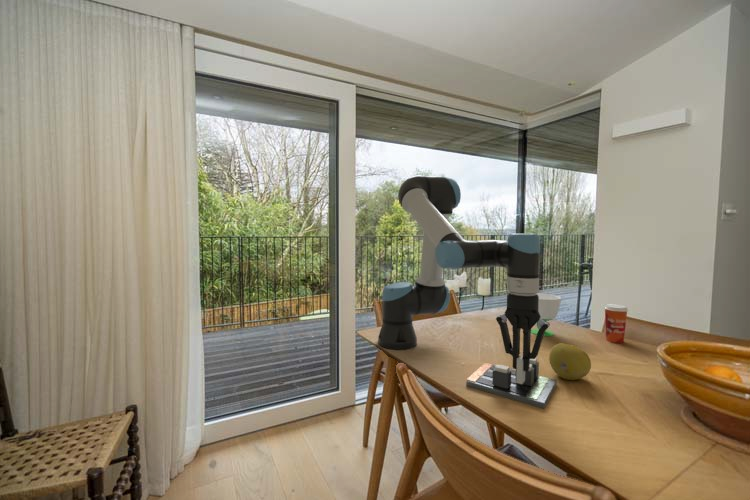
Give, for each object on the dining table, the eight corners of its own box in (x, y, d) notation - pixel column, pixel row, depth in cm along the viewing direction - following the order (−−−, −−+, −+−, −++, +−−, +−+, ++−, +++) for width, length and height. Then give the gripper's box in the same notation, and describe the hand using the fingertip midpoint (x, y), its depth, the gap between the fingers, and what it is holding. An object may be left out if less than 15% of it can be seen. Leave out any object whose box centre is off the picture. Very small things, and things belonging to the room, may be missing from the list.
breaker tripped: (492, 384, 91) (492, 366, 90) (496, 380, 93) (496, 363, 93) (507, 388, 88) (507, 370, 88) (511, 384, 91) (511, 366, 90)
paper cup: (605, 342, 130) (607, 307, 129) (600, 336, 137) (601, 303, 136) (630, 345, 127) (631, 308, 126) (623, 339, 134) (625, 304, 133)
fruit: (590, 388, 92) (591, 353, 92) (547, 379, 98) (548, 346, 98) (590, 375, 101) (591, 342, 100) (550, 367, 107) (551, 336, 106)
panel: (465, 385, 95) (465, 379, 94) (485, 367, 107) (486, 362, 107) (543, 408, 82) (544, 402, 82) (556, 385, 95) (556, 379, 94)
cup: (561, 331, 144) (562, 295, 144) (559, 340, 133) (560, 300, 132) (527, 326, 152) (527, 292, 151) (522, 334, 140) (523, 297, 139)
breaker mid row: (515, 382, 92) (515, 364, 92) (518, 378, 95) (519, 361, 94) (531, 386, 90) (531, 367, 89) (533, 382, 92) (534, 364, 92)
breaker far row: (521, 375, 97) (521, 358, 96) (523, 371, 99) (524, 355, 99) (536, 378, 94) (536, 361, 94) (538, 375, 96) (538, 358, 96)
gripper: (492, 292, 87) (491, 380, 89) (547, 298, 79) (544, 394, 81) (501, 288, 93) (500, 370, 95) (553, 293, 85) (551, 383, 87)
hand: (520, 381), depth 88 cm, fingers closed
